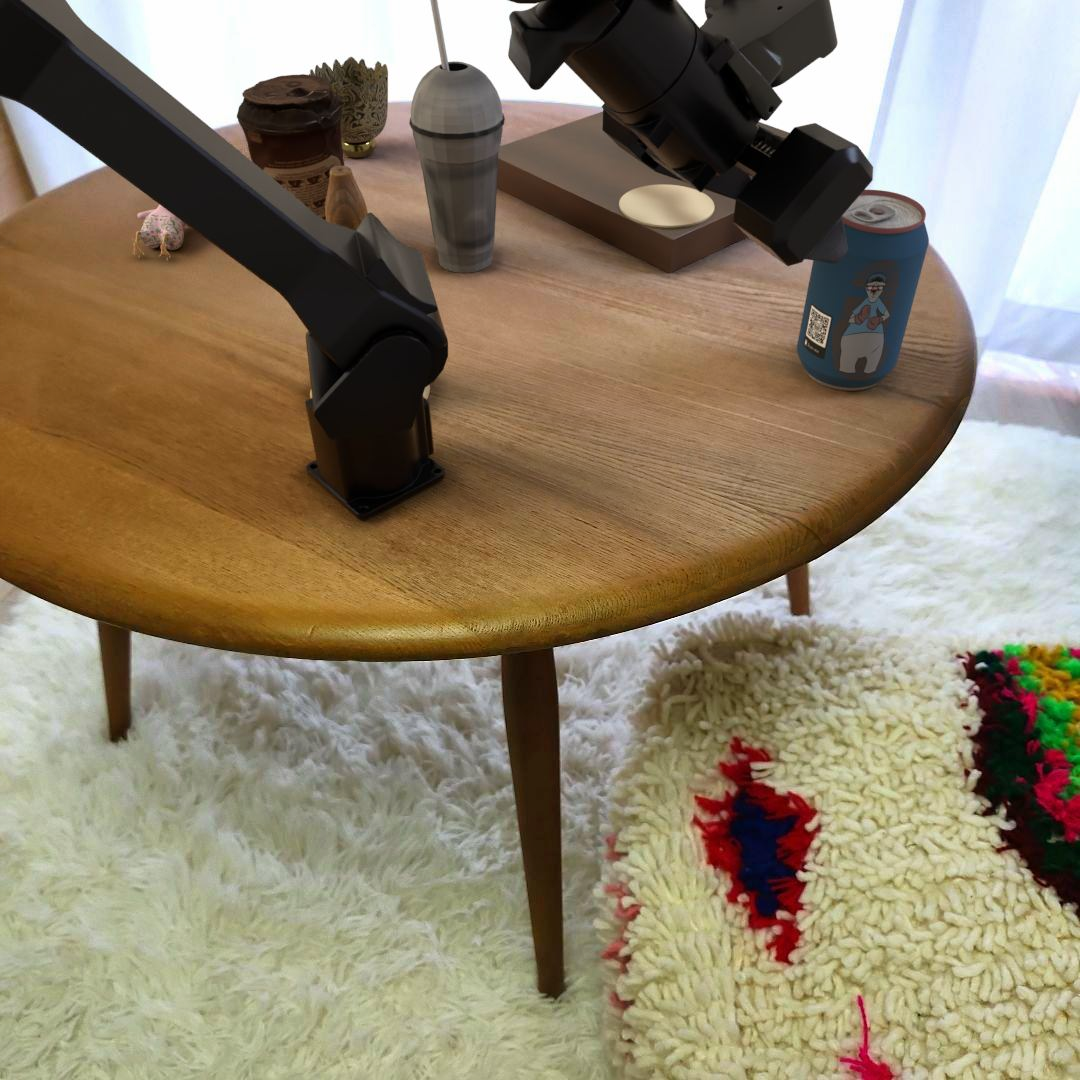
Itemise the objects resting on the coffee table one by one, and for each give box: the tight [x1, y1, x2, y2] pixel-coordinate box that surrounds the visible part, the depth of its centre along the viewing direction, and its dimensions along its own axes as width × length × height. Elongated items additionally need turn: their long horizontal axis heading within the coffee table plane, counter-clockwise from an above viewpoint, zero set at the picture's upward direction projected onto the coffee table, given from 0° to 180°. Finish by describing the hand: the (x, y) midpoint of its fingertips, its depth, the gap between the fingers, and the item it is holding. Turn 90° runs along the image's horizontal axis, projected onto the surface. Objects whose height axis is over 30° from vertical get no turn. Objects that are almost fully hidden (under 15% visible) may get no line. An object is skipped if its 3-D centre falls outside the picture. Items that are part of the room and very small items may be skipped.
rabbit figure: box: [131, 204, 187, 262], centre depth 89 cm, size 6×6×15 cm
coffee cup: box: [236, 73, 345, 220], centre depth 84 cm, size 9×8×13 cm
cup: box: [308, 56, 389, 159], centre depth 100 cm, size 8×7×8 cm
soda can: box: [796, 189, 930, 392], centre depth 69 cm, size 7×7×12 cm
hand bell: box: [309, 165, 431, 400], centre depth 66 cm, size 8×8×16 cm
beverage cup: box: [408, 0, 506, 274], centre depth 79 cm, size 7×7×20 cm
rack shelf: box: [497, 111, 790, 274], centre depth 93 cm, size 18×24×6 cm
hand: (793, 224), depth 63 cm, fingers open, 9 cm apart
